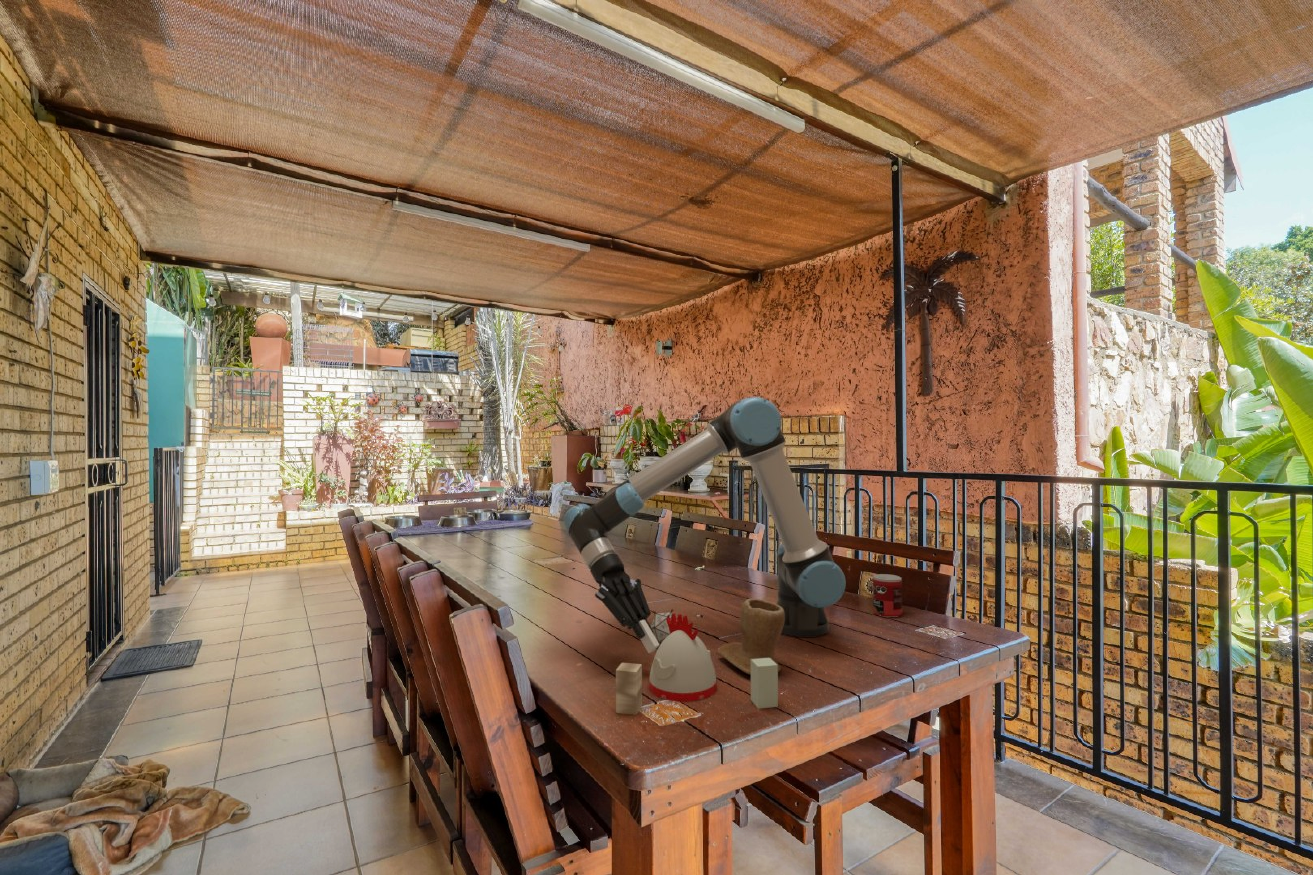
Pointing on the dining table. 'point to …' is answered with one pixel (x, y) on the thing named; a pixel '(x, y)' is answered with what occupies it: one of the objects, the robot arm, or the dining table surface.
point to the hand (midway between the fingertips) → (654, 648)
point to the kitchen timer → (682, 665)
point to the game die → (661, 625)
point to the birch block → (629, 688)
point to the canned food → (887, 595)
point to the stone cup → (755, 634)
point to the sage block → (764, 683)
